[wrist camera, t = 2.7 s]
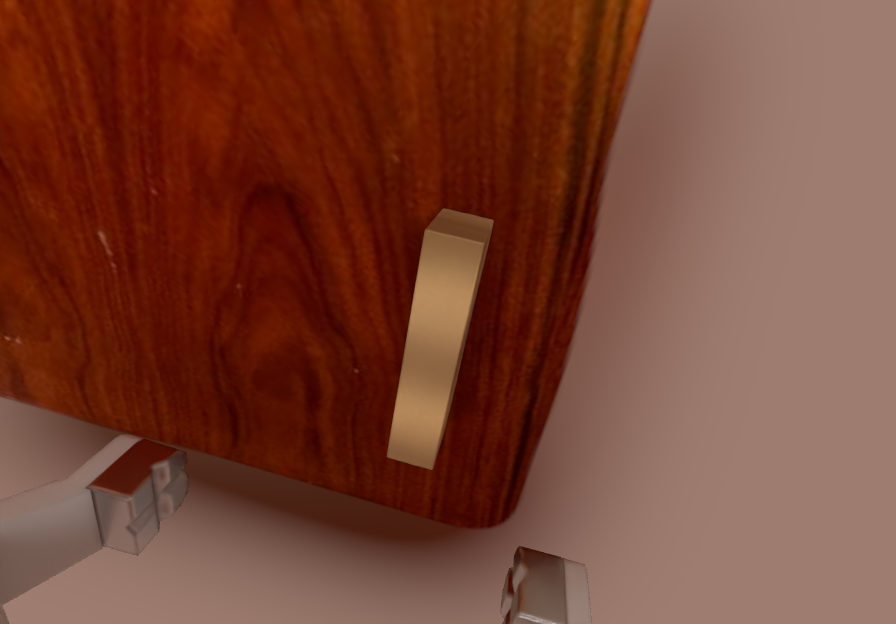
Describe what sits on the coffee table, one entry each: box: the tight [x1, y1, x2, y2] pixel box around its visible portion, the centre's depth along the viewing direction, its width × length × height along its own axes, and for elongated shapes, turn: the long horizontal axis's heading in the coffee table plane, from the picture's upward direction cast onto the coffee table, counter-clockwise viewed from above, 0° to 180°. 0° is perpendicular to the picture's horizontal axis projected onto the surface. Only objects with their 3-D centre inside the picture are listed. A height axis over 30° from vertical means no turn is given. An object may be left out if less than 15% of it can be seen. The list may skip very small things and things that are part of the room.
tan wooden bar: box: [387, 208, 494, 470], centre depth 19 cm, size 10×2×3 cm, turn 170°
